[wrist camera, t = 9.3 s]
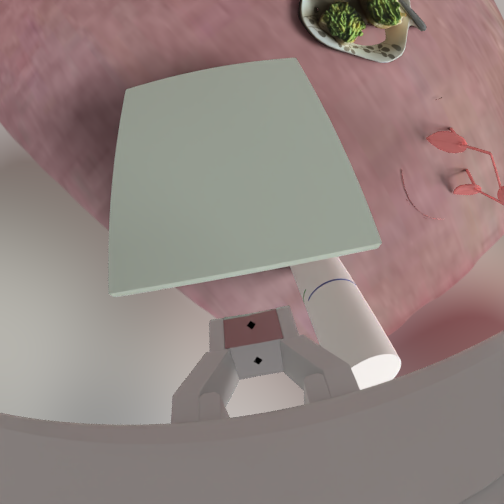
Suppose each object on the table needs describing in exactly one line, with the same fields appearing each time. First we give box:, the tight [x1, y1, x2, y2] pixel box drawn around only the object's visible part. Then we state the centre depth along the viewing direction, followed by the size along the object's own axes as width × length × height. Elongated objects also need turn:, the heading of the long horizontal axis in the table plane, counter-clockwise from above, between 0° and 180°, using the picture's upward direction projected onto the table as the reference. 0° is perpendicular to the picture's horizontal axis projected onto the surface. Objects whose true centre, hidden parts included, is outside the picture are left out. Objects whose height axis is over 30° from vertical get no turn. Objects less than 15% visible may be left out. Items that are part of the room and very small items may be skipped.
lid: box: [108, 58, 382, 297], centre depth 21 cm, size 20×17×1 cm
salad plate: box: [298, 0, 426, 63], centre depth 28 cm, size 19×18×5 cm
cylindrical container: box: [290, 257, 401, 390], centre depth 38 cm, size 7×7×25 cm
